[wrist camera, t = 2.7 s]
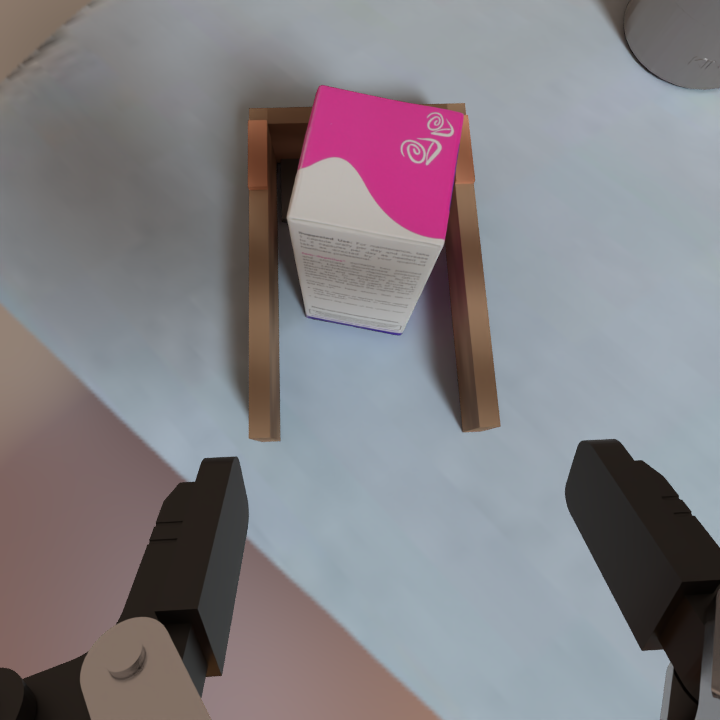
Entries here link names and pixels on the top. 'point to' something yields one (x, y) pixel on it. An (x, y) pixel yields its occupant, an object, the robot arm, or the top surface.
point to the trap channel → (265, 149)
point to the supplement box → (371, 206)
